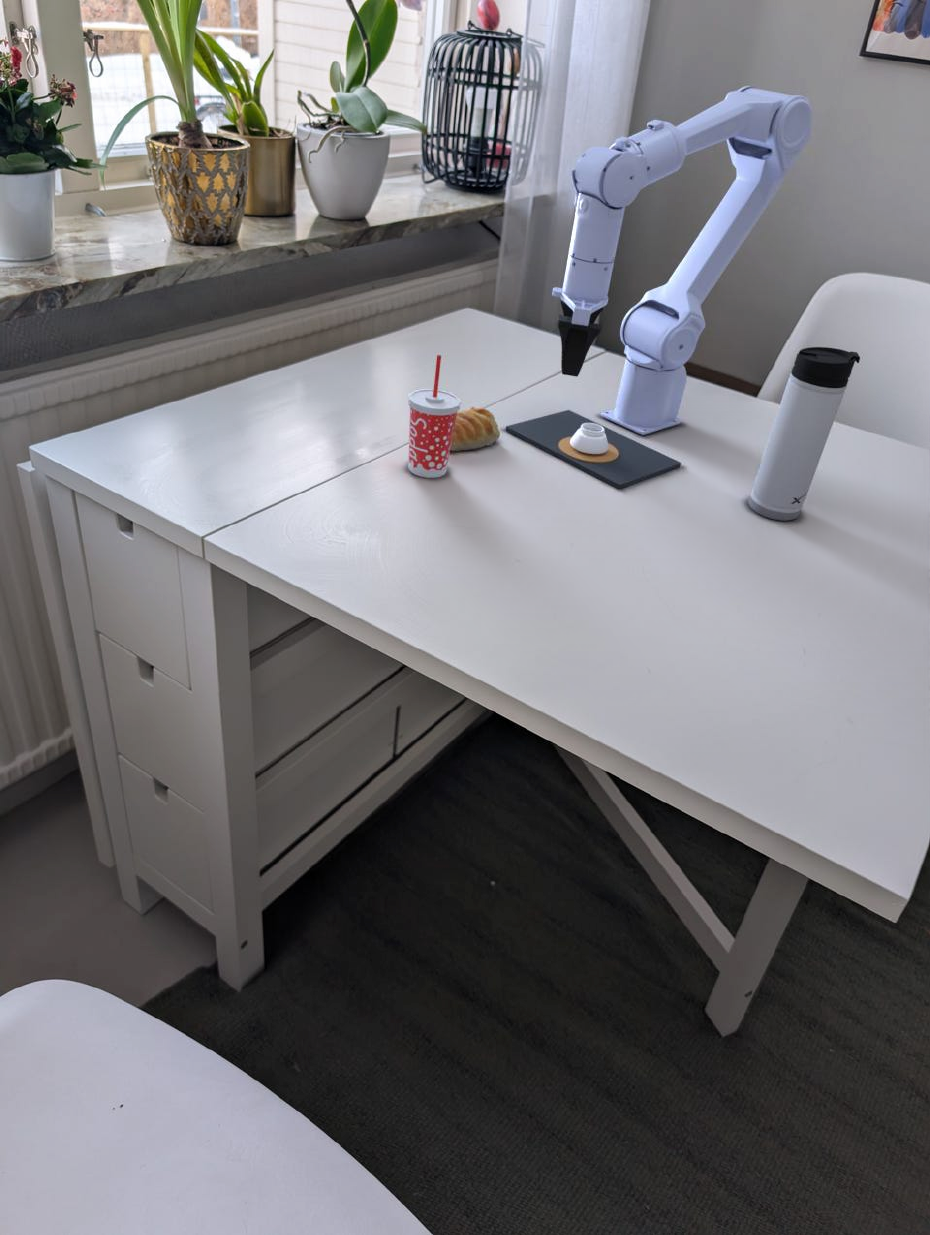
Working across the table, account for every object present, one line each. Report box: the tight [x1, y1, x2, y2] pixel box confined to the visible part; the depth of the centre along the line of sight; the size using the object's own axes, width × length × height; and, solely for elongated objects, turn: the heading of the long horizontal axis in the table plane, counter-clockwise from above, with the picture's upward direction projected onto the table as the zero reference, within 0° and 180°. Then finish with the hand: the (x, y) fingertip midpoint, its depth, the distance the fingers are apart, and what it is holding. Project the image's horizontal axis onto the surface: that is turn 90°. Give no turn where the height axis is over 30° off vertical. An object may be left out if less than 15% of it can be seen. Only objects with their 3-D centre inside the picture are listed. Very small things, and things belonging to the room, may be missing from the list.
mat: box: [505, 409, 682, 490], centre depth 119 cm, size 13×20×1 cm, turn 43°
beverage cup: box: [407, 354, 462, 479], centre depth 104 cm, size 6×6×14 cm
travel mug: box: [748, 346, 861, 522], centre depth 105 cm, size 6×7×20 cm
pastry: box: [450, 406, 501, 452], centre depth 115 cm, size 9×7×4 cm
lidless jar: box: [570, 423, 609, 454], centre depth 116 cm, size 5×3×5 cm
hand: (571, 365), depth 118 cm, fingers open, 7 cm apart
